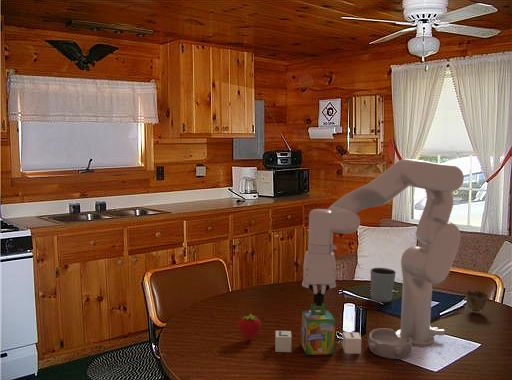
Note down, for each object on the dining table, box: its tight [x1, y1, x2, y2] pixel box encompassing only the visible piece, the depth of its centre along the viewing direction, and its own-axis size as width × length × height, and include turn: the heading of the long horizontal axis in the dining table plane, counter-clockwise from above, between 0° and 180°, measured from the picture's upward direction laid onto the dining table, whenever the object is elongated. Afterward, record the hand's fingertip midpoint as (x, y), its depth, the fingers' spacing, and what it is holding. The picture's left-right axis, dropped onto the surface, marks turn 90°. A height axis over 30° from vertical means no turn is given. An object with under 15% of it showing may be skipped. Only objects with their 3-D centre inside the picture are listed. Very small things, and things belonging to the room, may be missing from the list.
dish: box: [367, 327, 413, 360], centre depth 167 cm, size 14×14×5 cm
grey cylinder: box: [370, 267, 397, 303], centre depth 217 cm, size 10×10×12 cm
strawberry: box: [238, 310, 262, 341], centre depth 173 cm, size 6×8×10 cm
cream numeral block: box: [342, 331, 362, 355], centre depth 167 cm, size 5×5×5 cm
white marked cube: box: [274, 330, 293, 353], centre depth 167 cm, size 5×5×5 cm
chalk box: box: [300, 303, 336, 356], centre depth 166 cm, size 9×9×15 cm
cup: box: [466, 290, 488, 315], centre depth 201 cm, size 8×7×8 cm
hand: (318, 304), depth 165 cm, fingers closed
